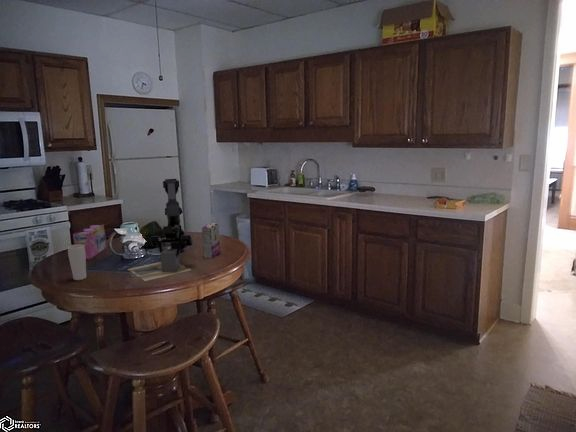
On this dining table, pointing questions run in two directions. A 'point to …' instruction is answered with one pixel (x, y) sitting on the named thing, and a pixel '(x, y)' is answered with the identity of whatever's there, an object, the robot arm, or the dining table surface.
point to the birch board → (154, 271)
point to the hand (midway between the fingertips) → (169, 256)
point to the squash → (151, 232)
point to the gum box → (91, 239)
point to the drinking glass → (77, 261)
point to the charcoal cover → (169, 260)
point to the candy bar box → (211, 240)
